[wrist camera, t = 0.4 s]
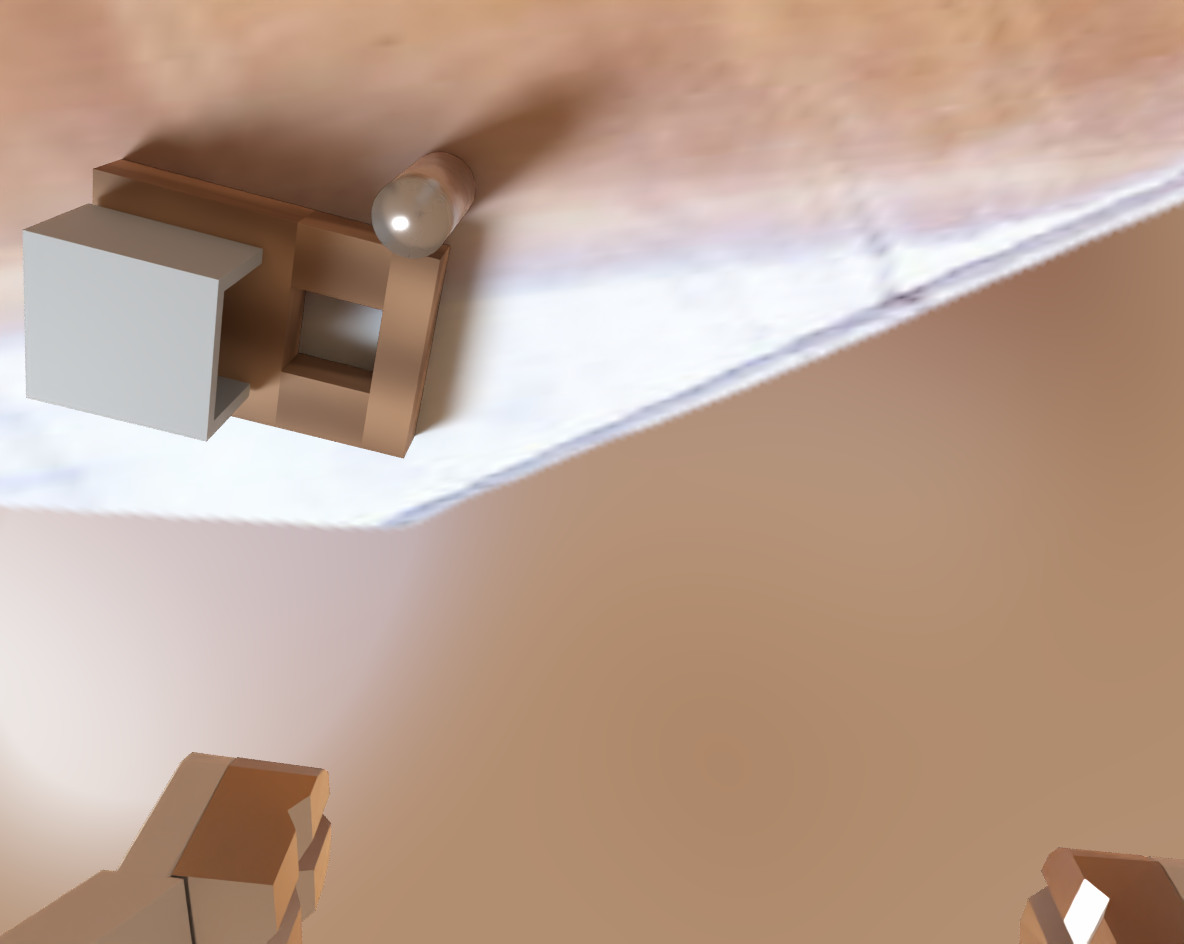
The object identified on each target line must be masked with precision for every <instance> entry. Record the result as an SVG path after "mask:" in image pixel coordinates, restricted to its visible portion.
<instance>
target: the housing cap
mask: <svg viewBox="0 0 1184 944" xmlns="http://www.w3.org/2000/svg"><path fill="white" fill-rule="evenodd" d="M262 256H263V249H262V248H259V247H255V246H251V245H247V244H243V243H239V242H235V241H232V240H228V239H224V238H220V237H216V236H212V235H208V234H205V233H201V232H197V231H193V230H189V229H185V228H181V227H178V226H174V225H170V224H166V223H162V222H158V221H155V220H151V219H147V218H143V217H139V216H135V215H131V214H128V213H124V212H120V211H116V210H112V209H108V208H104V207H101V206H97V205H93V204H86V205H84V206H81V207H79V208H76V209H74V210H71V211H69V212H66V213H64V214H61V215H59V216H56V217H54V218H51V219H49V220H46V221H44V222H41V223H39V224H36V225H34V226H31V227H29V228H26V229H24V230H23V269H24V316H25V363H26V398H30V399H34V400H38V401H42V402H46V403H50V404H54V405H59V406H63V407H67V408H71V409H75V410H79V411H83V412H87V413H92V414H96V415H100V416H104V417H108V418H112V419H116V420H120V421H124V422H129V423H133V424H137V425H141V426H145V427H149V428H153V429H157V430H161V431H166V432H170V433H174V434H178V435H182V436H186V437H190V438H194V439H198V440H203V441H207V440H208V439H209V438H210V437H211V436H212V435H213V434H214V433H215V432H216V431H217V430H218V429H219V428H220V427H221V426H222V425H223V423H224V422H225V421H226V420H227V419H228V418H229V417H230V416H231V415H232V414H233V413H234V412H235V411H236V410H237V409H238V408H239V407H240V405H241V404H242V403H243V402H244V401H245V400H246V399H247V398H248V397H249V391H250V384H249V383H245V382H241V381H237V380H233V379H229V378H225V377H221V376H217V375H218V363H219V350H220V337H221V325H222V312H223V299H224V291H225V290H227V289H228V288H229V287H231V286H232V285H233V284H235V283H236V282H237V281H239V280H240V279H241V278H243V277H244V276H245V275H247V274H248V273H250V272H251V271H252V270H254V269H255V268H256V267H258V266H259V265H260V264H262Z"/></svg>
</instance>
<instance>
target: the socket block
mask: <svg viewBox="0 0 1184 944" xmlns="http://www.w3.org/2000/svg"><path fill="white" fill-rule="evenodd" d="M93 205H97V206H101V207H104V208H108V209H112V210H116V211H120V212H124V213H128V214H131V215H135V216H139V217H143V218H147V219H151V220H155V221H158V222H162V223H166V224H170V225H174V226H178V227H181V228H185V229H189V230H193V231H197V232H201V233H205V234H208V235H212V236H216V237H220V238H224V239H228V240H232V241H235V242H239V243H243V244H247V245H251V246H255V247H259V248H262V249H263V256H262V264H260V265H259V266H258V267H256V268H255V269H254V270H252V271H251V272H250V273H248V274H247V275H245V276H244V277H243V278H241V279H240V280H239V281H237V282H236V283H235V284H233V285H232V286H231V287H229V288H228V289H227V290H225V291H224V299H223V312H222V325H221V337H220V350H219V363H218V375H217V376H221V377H225V378H229V379H233V380H237V381H241V382H245V383H249V384H250V391H249V397H248V398H247V399H246V400H245V401H244V402H243V403H242V404H241V405H240V407H239V408H238V409H237V410H236V411H235V412H234V413H233V414H232V415H231V416H233V417H237V418H241V419H245V420H249V421H253V422H258V423H262V424H266V425H270V426H274V427H278V428H282V429H286V430H290V431H294V432H298V433H302V434H306V435H310V436H315V437H319V438H323V439H327V440H331V441H335V442H339V443H343V444H347V445H351V446H355V447H359V448H363V449H368V450H372V451H376V452H380V453H384V454H388V455H392V456H396V457H400V458H404V457H405V454H406V452H407V450H408V448H409V446H410V444H411V442H412V440H413V438H414V436H415V431H416V425H417V420H418V415H419V409H420V404H421V399H422V393H423V388H424V383H425V377H426V372H427V367H428V361H429V356H430V351H431V345H432V340H433V335H434V329H435V324H436V319H437V313H438V308H439V303H440V297H441V292H442V287H443V281H444V276H445V271H446V265H447V260H448V255H449V249H450V246H449V245H445V244H442V245H441V247H440V248H439V249H438V250H437V251H435V252H434V253H432V254H430V255H428V256H426V257H422V258H405V257H402V256H399V255H397V254H395V253H393V252H391V251H390V250H389V249H387V248H386V247H385V246H384V245H383V244H382V243H381V241H380V240H379V239H378V237H377V235H376V233H375V231H374V228H373V225H369V224H366V223H362V222H358V221H354V220H350V219H347V218H343V217H339V216H335V215H331V214H328V213H324V212H320V211H316V210H312V209H309V208H305V207H301V206H297V205H293V204H290V203H286V202H282V201H278V200H274V199H271V198H267V197H263V196H259V195H255V194H252V193H248V192H244V191H240V190H236V189H233V188H229V187H225V186H221V185H218V184H214V183H210V182H206V181H202V180H199V179H195V178H191V177H187V176H183V175H180V174H176V173H172V172H168V171H164V170H161V169H157V168H153V167H149V166H145V165H142V164H138V163H134V162H130V161H126V160H123V159H121V160H118V161H115V162H112V163H109V164H106V165H103V166H100V167H97V168H94V169H93ZM306 291H310V292H314V293H318V294H321V295H325V296H329V297H333V298H337V299H341V300H345V301H349V302H353V303H356V304H360V305H364V306H368V307H372V308H376V309H380V310H383V313H382V320H381V326H380V332H379V338H378V345H377V351H376V357H375V363H374V370H373V372H372V371H368V370H364V369H360V368H356V367H352V366H348V365H344V364H340V363H336V362H332V361H328V360H324V359H320V358H316V357H312V356H308V355H304V354H300V353H298V351H299V342H300V334H301V326H302V317H303V309H304V301H305V292H306Z"/></svg>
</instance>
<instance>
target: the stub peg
mask: <svg viewBox="0 0 1184 944" xmlns="http://www.w3.org/2000/svg"><path fill="white" fill-rule="evenodd" d="M475 191H476V187H475V181H474V177H473V174H472V172H471V171H470V169H469V167H468V166H467V165H466V164H465V163H464V162H463V161H462V160H461V159H460V158H458V157H457V156H455V155H453V154H450V153H446V152H433V153H429V154H427V155H425V156H423V157H422V158H420V159H419V160H418V161H417V162H415V163H414V164H413V165H412V166H410V167H409V168H408V169H407V170H405V171H404V172H403V173H402V174H400V175H399V176H398V177H397V178H395V179H394V180H393V181H392V182H390V183H389V184H388V185H387V186H385V187H384V188H383V189H382V190H381V191H380V192H379V193H378V195H377V196H376V198H375V200H374V203H373V206H372V213H371V218H372V225H373V228H374V231H375V233H376V235H377V237H378V239H379V240H380V241H381V243H382V244H383V245H384V246H385V247H386V248H387V249H389V250H390V251H391V252H393V253H395V254H397V255H399V256H402V257H405V258H422V257H426V256H428V255H430V254H432V253H434V252H435V251H437V250H438V249H439V248H440V247H441V245H442V244H443V243H444V241H445V240H446V239H447V237H448V236H449V235H450V233H451V232H452V231H453V229H454V228H455V227H456V225H457V224H458V223H459V222H460V220H461V219H462V218H463V216H464V215H465V214H466V212H467V211H468V210H469V208H470V207H471V205H472V203H473V201H474V197H475Z"/></svg>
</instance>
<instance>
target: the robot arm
mask: <svg viewBox="0 0 1184 944" xmlns="http://www.w3.org/2000/svg"><path fill="white" fill-rule="evenodd" d="M329 795H330V787H329V773H328V771H326V770H325V769H321V768H314V767H306V766H299V765H291V764H284V763H276V762H269V761H261V760H254V759H246V758H239V757H237V758H232V757H224V756H217V755H209V754H203V753H195V752H192V753H191V754H190V755H188V756H187V757H186V758H185V759H184V760H183V761H182V762H180V764H179V765H178V767H177V769H176V771H175V772H174V774H173V775H172V777H171V779H170V780H169V782H168V784H167V786H166V787H165V789H164V791H163V792H162V794H161V796H160V797H159V799H158V801H157V803H156V804H155V806H154V807H153V809H152V811H151V813H150V814H149V816H148V818H147V819H146V821H145V823H144V824H143V826H142V828H141V829H140V831H139V833H138V834H137V836H136V838H135V839H134V841H133V843H132V844H131V846H130V848H129V850H128V851H127V853H126V855H125V857H124V858H123V860H122V861H121V863H120V865H119V866H118V868H117V870H116V871H107V870H101V871H100V872H98V873H96V874H95V875H93V876H92V877H90V878H89V879H87V880H85V881H84V882H82V883H81V884H80V885H78V886H76V887H75V888H73V889H71V890H70V891H68V892H67V893H65V894H64V895H62V896H61V897H59V898H57V899H56V900H54V901H53V902H51V903H50V904H48V905H47V906H45V907H44V908H42V909H40V910H39V911H37V912H36V913H34V914H33V915H31V916H30V917H28V918H27V919H25V920H23V921H22V922H20V923H19V924H17V925H16V926H14V927H13V928H11V929H9V930H8V931H6V932H5V933H3V934H2V935H0V944H302V921H303V920H305V919H306V918H307V917H308V916H310V915H311V914H312V913H313V912H314V911H316V908H317V905H318V901H319V899H320V896H321V892H322V890H323V886H324V882H325V877H326V873H327V868H328V863H329V857H330V847H331V823H330V822H329V820H328V819H327V818H326V817H325V816H324V815H323V811H324V808H325V806H326V803H327V800H328V798H329ZM1041 872H1042V874H1043V876H1044V879H1045V881H1046V883H1047V885H1048V886H1047V887H1045V888H1044V889H1042V890H1040V891H1039V892H1037V893H1036V894H1034V895H1033V896H1031V897H1030V898H1028V900H1027V903H1026V905H1025V908H1024V911H1023V913H1022V916H1021V918H1020V935H1019V936H1020V937H1019V944H1184V860H1181V859H1172V858H1161V857H1151V856H1149V857H1144V856H1142V855H1132V854H1121V853H1112V852H1102V851H1091V850H1081V849H1070V848H1060V847H1059V848H1057V849H1055V850H1054V851H1053V852H1051V853H1050V854H1049V855H1048V857H1047V859H1046V861H1045V863H1044V865H1043V867H1042V870H1041Z"/></svg>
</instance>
